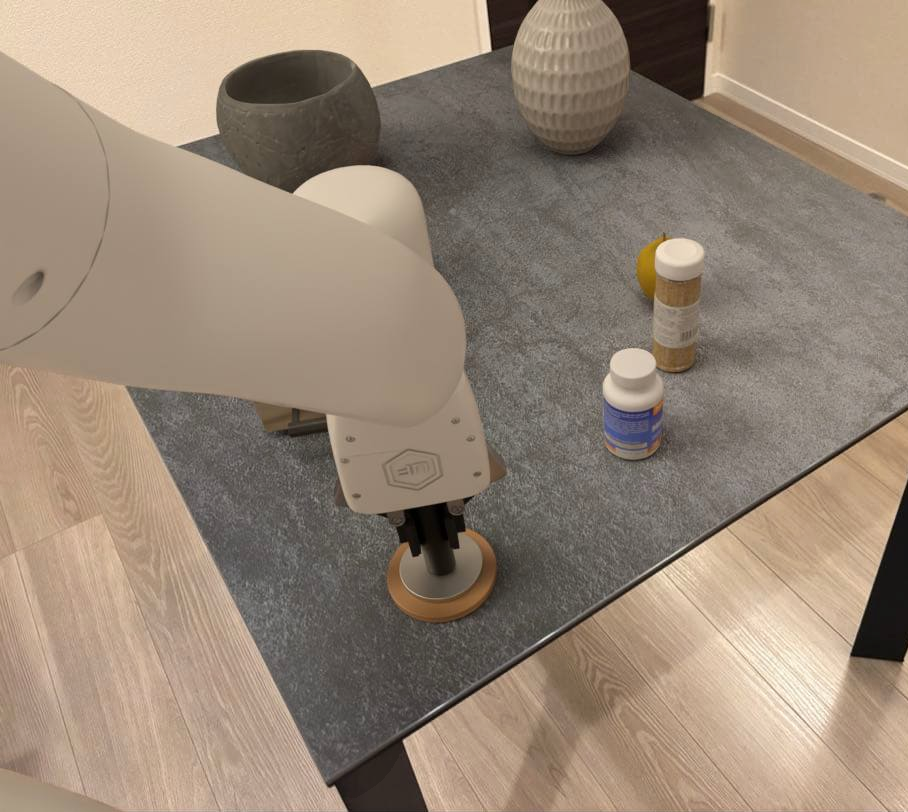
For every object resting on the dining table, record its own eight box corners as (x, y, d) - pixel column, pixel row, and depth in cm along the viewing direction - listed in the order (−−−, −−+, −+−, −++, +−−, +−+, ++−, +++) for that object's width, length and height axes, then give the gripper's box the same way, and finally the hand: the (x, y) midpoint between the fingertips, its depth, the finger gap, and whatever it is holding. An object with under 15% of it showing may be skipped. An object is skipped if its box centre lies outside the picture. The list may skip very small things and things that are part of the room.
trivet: (504, 610, 65) (504, 605, 65) (391, 633, 65) (389, 627, 64) (489, 522, 72) (488, 516, 71) (385, 541, 71) (384, 535, 70)
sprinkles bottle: (681, 340, 87) (690, 231, 78) (703, 367, 84) (715, 256, 75) (642, 352, 86) (647, 243, 77) (662, 379, 83) (669, 269, 74)
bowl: (227, 169, 121) (191, 67, 110) (364, 132, 127) (341, 31, 116) (261, 237, 107) (223, 127, 96) (412, 192, 113) (392, 84, 102)
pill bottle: (663, 461, 76) (668, 383, 69) (604, 462, 76) (603, 385, 69) (658, 418, 79) (662, 341, 73) (601, 420, 80) (601, 343, 73)
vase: (502, 165, 117) (486, -1, 101) (536, 114, 128) (526, -43, 112) (614, 176, 113) (615, 5, 97) (639, 122, 124) (643, -40, 108)
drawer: (396, 441, 78) (386, 405, 75) (263, 464, 77) (247, 428, 74) (386, 326, 91) (378, 291, 87) (272, 344, 90) (259, 309, 86)
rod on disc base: (488, 594, 66) (474, 519, 59) (403, 610, 65) (379, 537, 58) (477, 527, 70) (463, 451, 64) (398, 542, 70) (375, 466, 63)
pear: (659, 276, 96) (662, 215, 90) (704, 298, 92) (710, 236, 87) (622, 301, 93) (623, 240, 87) (667, 325, 89) (671, 263, 84)
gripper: (258, 427, 49) (332, 598, 62) (526, 381, 50) (544, 558, 63) (265, 347, 54) (332, 519, 67) (507, 307, 55) (527, 484, 68)
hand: (434, 537), depth 65 cm, fingers closed on rod on disc base, 2 cm apart
